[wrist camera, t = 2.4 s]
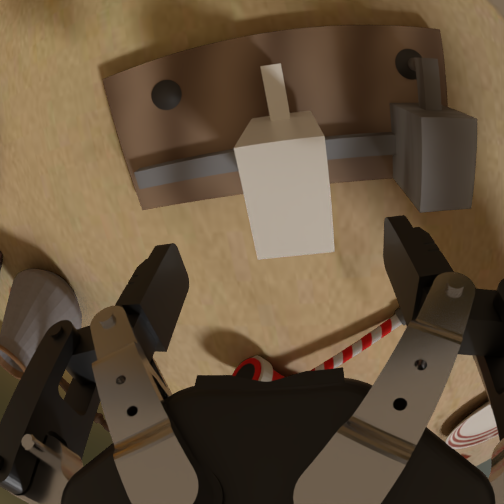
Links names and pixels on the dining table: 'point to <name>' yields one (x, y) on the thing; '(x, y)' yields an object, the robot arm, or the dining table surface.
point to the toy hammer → (264, 372)
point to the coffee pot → (36, 319)
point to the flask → (1, 260)
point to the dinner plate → (474, 428)
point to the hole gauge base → (299, 99)
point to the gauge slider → (285, 177)
